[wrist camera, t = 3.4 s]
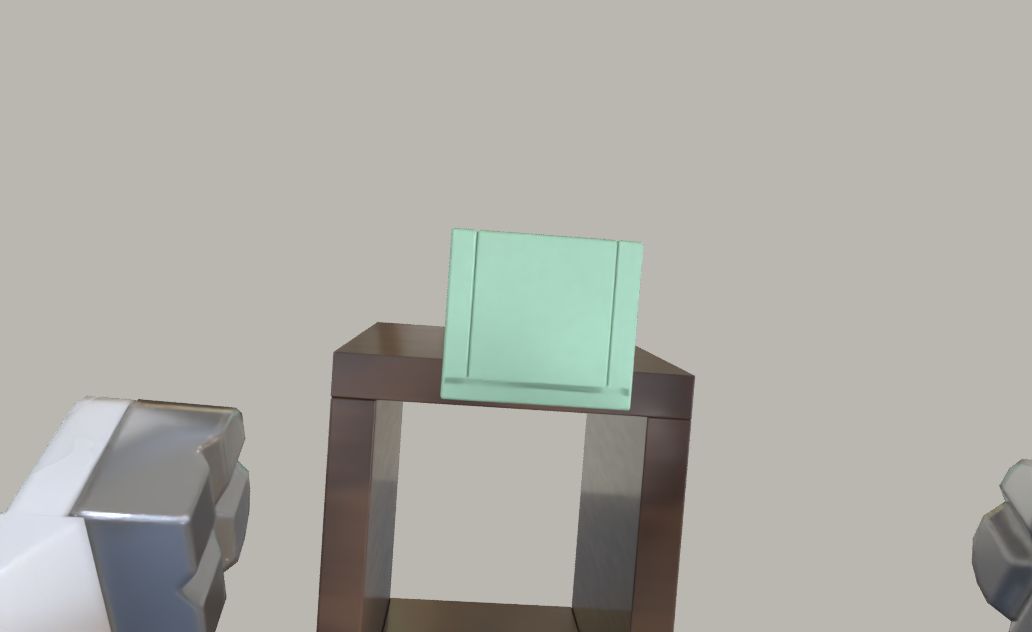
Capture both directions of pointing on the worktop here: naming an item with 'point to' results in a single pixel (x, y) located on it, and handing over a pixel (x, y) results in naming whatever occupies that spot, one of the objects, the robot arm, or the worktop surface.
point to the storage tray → (541, 319)
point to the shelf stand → (602, 515)
